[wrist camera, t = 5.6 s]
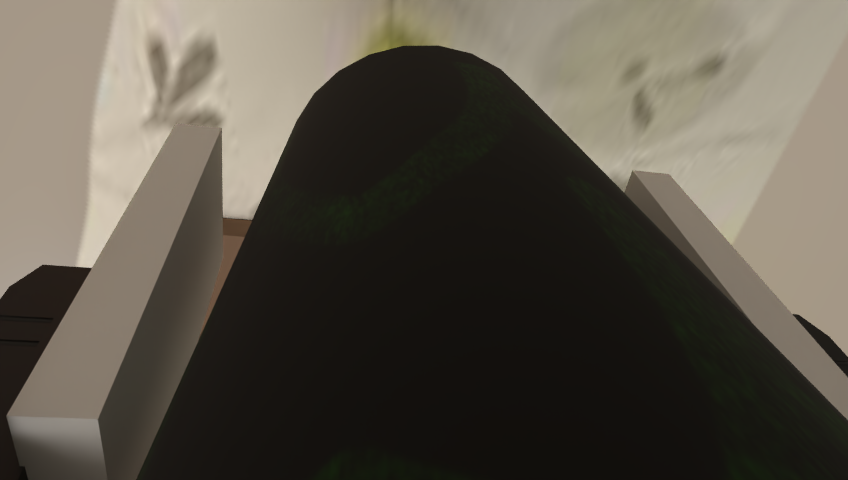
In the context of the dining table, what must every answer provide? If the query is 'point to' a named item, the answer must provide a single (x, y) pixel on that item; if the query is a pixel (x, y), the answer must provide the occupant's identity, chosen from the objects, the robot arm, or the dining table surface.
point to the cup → (473, 312)
